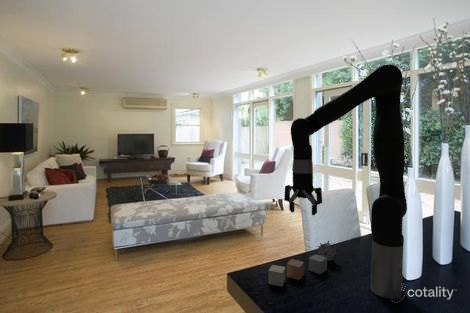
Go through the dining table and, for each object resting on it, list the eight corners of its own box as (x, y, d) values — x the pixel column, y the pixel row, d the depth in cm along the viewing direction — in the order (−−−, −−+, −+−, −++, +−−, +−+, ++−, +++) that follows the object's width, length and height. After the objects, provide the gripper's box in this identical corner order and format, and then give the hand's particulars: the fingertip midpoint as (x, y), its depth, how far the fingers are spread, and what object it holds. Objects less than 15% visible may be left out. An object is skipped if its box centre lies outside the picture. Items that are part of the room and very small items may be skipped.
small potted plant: (322, 270, 122) (308, 252, 121) (326, 256, 129) (313, 239, 128) (341, 266, 117) (327, 246, 116) (344, 251, 124) (331, 233, 123)
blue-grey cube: (326, 270, 115) (327, 258, 114) (320, 274, 111) (320, 261, 111) (315, 266, 118) (315, 254, 118) (308, 270, 115) (309, 257, 115)
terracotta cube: (303, 274, 111) (304, 262, 111) (299, 280, 107) (299, 267, 106) (291, 271, 114) (291, 259, 113) (286, 276, 109) (286, 263, 109)
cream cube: (285, 280, 107) (285, 266, 107) (282, 286, 102) (282, 272, 102) (271, 277, 109) (272, 264, 108) (268, 284, 104) (268, 270, 104)
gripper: (324, 171, 110) (324, 213, 111) (289, 169, 118) (289, 209, 119) (317, 173, 104) (317, 218, 105) (281, 171, 112) (281, 213, 113)
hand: (302, 213), depth 112 cm, fingers open, 8 cm apart
